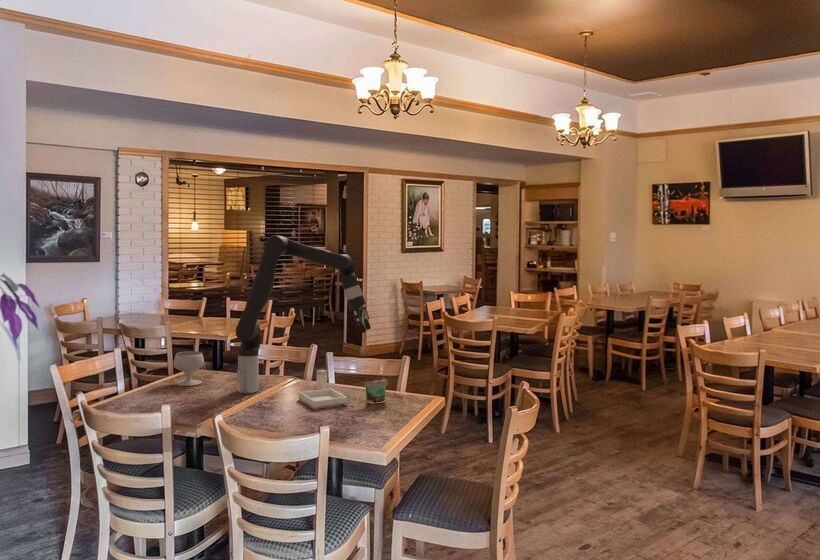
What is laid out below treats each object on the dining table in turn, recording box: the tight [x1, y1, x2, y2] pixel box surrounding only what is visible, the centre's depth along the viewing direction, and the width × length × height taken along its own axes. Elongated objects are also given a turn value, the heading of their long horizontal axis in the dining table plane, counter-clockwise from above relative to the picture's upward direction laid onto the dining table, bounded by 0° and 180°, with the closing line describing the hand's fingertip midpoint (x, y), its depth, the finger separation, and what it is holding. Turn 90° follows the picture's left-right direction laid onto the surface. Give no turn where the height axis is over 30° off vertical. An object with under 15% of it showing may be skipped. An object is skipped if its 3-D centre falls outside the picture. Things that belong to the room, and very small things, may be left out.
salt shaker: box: [316, 369, 328, 390], centre depth 301 cm, size 5×5×10 cm
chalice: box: [173, 350, 205, 387], centre depth 312 cm, size 14×14×15 cm
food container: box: [364, 376, 389, 403], centre depth 284 cm, size 12×6×10 cm, turn 143°
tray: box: [298, 388, 349, 410], centre depth 283 cm, size 16×18×4 cm
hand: (366, 330), depth 289 cm, fingers open, 8 cm apart
